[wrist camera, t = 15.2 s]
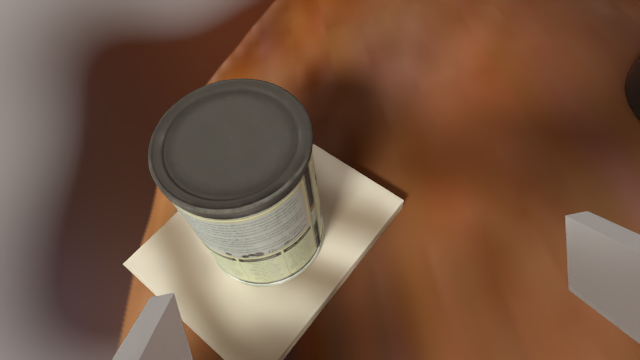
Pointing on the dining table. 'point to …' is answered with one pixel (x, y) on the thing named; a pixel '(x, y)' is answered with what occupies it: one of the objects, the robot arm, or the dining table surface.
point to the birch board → (273, 301)
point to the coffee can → (243, 177)
